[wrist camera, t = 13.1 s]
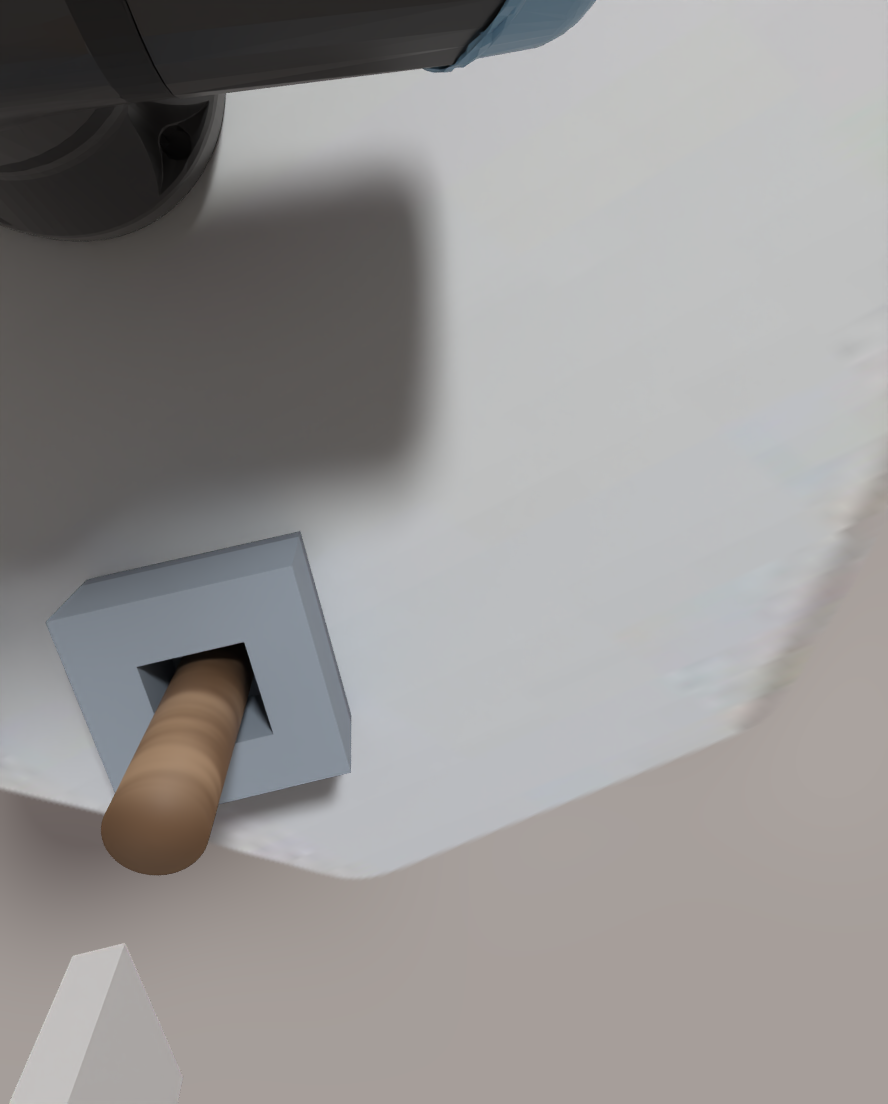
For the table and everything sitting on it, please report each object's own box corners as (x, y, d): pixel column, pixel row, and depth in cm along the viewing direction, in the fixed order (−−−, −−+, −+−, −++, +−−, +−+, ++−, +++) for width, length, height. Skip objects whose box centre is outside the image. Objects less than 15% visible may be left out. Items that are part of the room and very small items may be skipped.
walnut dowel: (174, 638, 43) (85, 802, 29) (245, 621, 43) (190, 776, 29) (197, 699, 44) (122, 886, 30) (265, 682, 44) (222, 860, 30)
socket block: (86, 579, 43) (45, 622, 37) (300, 531, 43) (292, 565, 37) (156, 762, 46) (128, 826, 41) (351, 715, 47) (350, 772, 41)
